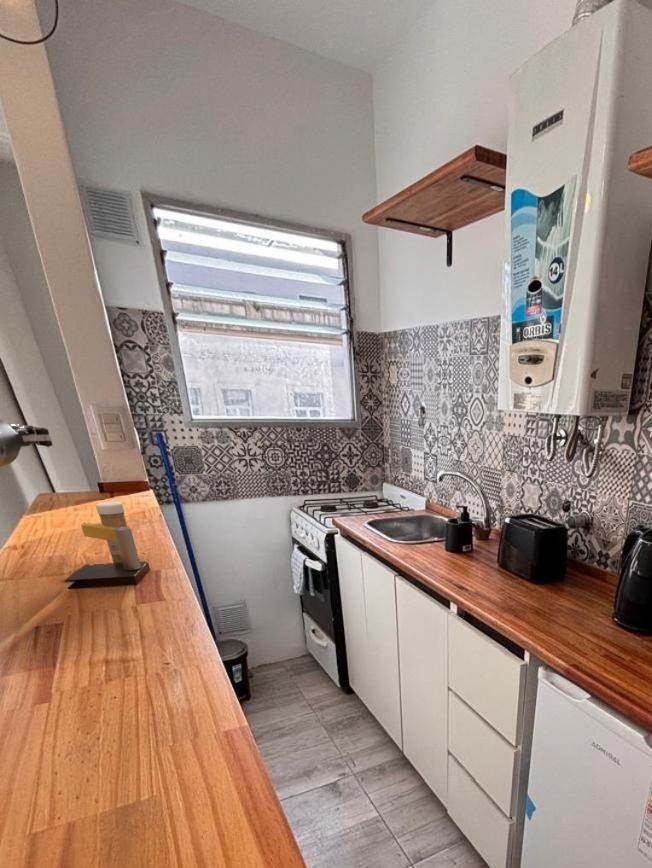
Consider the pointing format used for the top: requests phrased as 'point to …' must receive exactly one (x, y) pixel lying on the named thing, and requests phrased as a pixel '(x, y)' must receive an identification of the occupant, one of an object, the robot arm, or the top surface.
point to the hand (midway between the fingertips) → (28, 432)
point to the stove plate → (106, 575)
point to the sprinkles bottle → (112, 523)
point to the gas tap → (118, 535)
